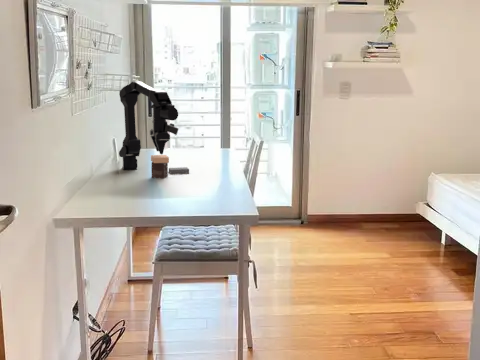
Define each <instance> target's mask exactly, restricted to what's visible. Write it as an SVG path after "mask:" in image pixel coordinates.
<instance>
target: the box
mask: <svg viewBox="0 0 480 360" xmlns="http://www.w3.org/2000/svg"><path fill="white" fill-rule="evenodd" d="M168 164H169V163H153V162H152V161H151V178H152V179H166V178H167V177H168V176H169V168H168V167H169V165H168Z"/></svg>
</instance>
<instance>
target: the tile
mask: <svg viewBox="0 0 480 360" xmlns="http://www.w3.org/2000/svg"><path fill="white" fill-rule="evenodd" d="M150 161H151V163H152V162H153V163H168V164H169V161H170V157H169V156H167V154H155V155H154V154H153V155H150Z"/></svg>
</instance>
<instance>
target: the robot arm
mask: <svg viewBox="0 0 480 360" xmlns="http://www.w3.org/2000/svg"><path fill="white" fill-rule="evenodd" d="M141 94H143V96H146V97H148V100H149V102H151V103H152V104H151V105H150V109H152V111H153V113H152V114H153V115H152V117H153V119H152V120H151V121H152V125H153V126H152V127H153V128H151V129H150V130H149V136H150V138H151V141H152V143H153V145H154V147H155V150H156V152H159V155H164V151H165V147H166V144H167V143H168V142H169V141H170V140H171V135H170V133H171V134H173V135H175V136H176V135H177V134H178V133H179V132H178V131H179V128H178V127H176V126H175V124H174V123H172V122H171V123H168V121H176V120H177V119H178V117H179V110H178V109H177V108H176V106H175V104H173V103H172V100H171V98H170V96H169V94H168V92H167V91H166V90H162V89H155V88H153V87H152V86H149V85H147V84H146V83H144V82H143V81H141V80H133V81H131V82H130V83H129V84H127V85H125V86H123V87H122V88H121V89H120V91H119V98H120V99H119V101H120V103H121V104H122V105H123V107H124V108H123V109H124V128H125V129H124V130H125V136H124V138H123V141H122V147H121V148H120V150H119V152H118V155H119V157H121V158H122V166H121V167H122V170H124V171H125V170H126V171H127V170H138V159H137V157H140V153H141V148H142V146H141V139H139V138H138V137H137V134H136V133H137V130H136V129H137V126H136V111H135V110H136V109H135V106H136V104H137V103H138V100H139V99H138V97H139V96H140V95H141Z"/></svg>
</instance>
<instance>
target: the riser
mask: <svg viewBox="0 0 480 360" xmlns="http://www.w3.org/2000/svg"><path fill="white" fill-rule="evenodd" d="M189 173H190V168H188V167H187V166H186V167H185V166H184V167H182V166H181V167H169V168H168V174H171V175H175V174H176V175H177V174H179V175H181V174H189Z"/></svg>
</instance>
